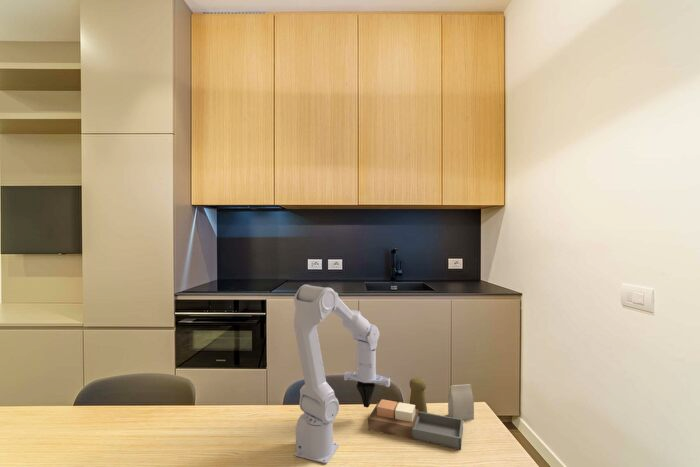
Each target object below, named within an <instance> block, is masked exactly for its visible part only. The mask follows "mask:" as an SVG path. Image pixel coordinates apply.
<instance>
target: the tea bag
mask: <svg viewBox="0 0 700 467" xmlns="http://www.w3.org/2000/svg"><path fill="white" fill-rule="evenodd" d="M474 401H475V400H474V393H473V390H472V384H470V383H469V384H466V383H465V384H454V385H450V386H449V390H448V395H447V407H448V408H447V412H448V417H453V418H458V419H463V421H469V420H470V421H471V420H474V419H475V402H474Z"/></svg>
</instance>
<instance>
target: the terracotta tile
mask: <svg viewBox="0 0 700 467" xmlns="http://www.w3.org/2000/svg"><path fill="white" fill-rule="evenodd" d="M397 405H398V401H393V400H387V399H380V401H379V404H378V406H377V415H379V416H384V417H389V418H394V416H395V409H396V407H397Z"/></svg>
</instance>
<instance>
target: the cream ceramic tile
mask: <svg viewBox="0 0 700 467" xmlns="http://www.w3.org/2000/svg"><path fill="white" fill-rule="evenodd" d="M414 416H415V405H412V404H410V403H404V402H400V401H399V402H397V407H396V409H395V419H399V420H404V421H410V422H412V421H413V418H414Z"/></svg>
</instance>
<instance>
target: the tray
mask: <svg viewBox="0 0 700 467" xmlns="http://www.w3.org/2000/svg"><path fill="white" fill-rule="evenodd" d="M463 432H464V420H463V419H458V418H453V417H450V416H447V415H443V414H442V415H441V414H435V413H429V412H427V413H425V412H420V411H418V418H417V420H416V423H415V426H414V428H412V439H411V440H413V441H417V442H418V441H419V442H423V443H427V444H433V445H435V446H436V445H438V446H442V447H446V448H451V449H456V450H460V451H461V450H462V445H463V444H462V442H463V436H464V434H463Z"/></svg>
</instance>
